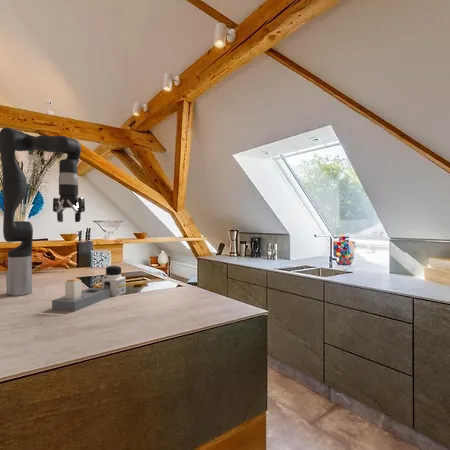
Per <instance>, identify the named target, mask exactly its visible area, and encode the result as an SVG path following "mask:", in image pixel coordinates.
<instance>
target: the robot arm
mask: <svg viewBox="0 0 450 450" xmlns="http://www.w3.org/2000/svg"><path fill="white" fill-rule="evenodd" d="M81 145H82V144H81V143H80V141H78V140H77V139H76V138H72V137H68V136H64V135H45V134H44V135H38V136H37V135H35V136H34V135H30V134H28V133H25V132H23V131H21V130H18V129H14V128H10V127H3V128H2V129H1V130H0V159H1V170H2V171H1V172H2V179H1V180H2V196H3V198H2V199H3V220H2V221H3V223H2V224H3V225H2V235H3V238H4V241H6V242H8V243H13V242H14V243H15V242H17V243H18V242H21V243H20V244H19V245H18V246H16V247H14V248H12V249H10V250H8V251H7V273H6V274H5V275H6V276H5V277H6V278H5V279H6V295H8V296H11V297H12V296H13V297H14V296H15V297H16V296H25V295H29V294H32V293H33V260H32V258H33V257H32V253H33V238H34V237H33V236H34V235H33V234H34V227H33V225H32V223H31V222H30V221H27V220H23V221H22V220H21V221H19V220H18V221H17V220H16V221H15V214H16V212H17V209H18V208H19V206H20V204H21V203H22V202H23V201H24V199H25V198H26V195H27V194H28V193H27V192H28V186H27V185H28V184H27V177H26V175H25V173H24V171H23V169H22V168H21V166H20V164H19V163H18V161H17V158H16V152H15V151H17V152H28V151H39V152H46V153H47V152H48V153H61V154H65V155H66V157H65V158H63V159H60V160H59V162H58V170H59V171H58V173H59V175H58V196H59V197H53V199H52V211H53V212H54V213H56V217H57V218H56V219H57V222H58V223H63V221H64V220H63V219H64V211H65V210H66V209H69V208H70V209H72V210H73V211H74V221H75V222H76V223H80V222H81V220H82V218H81V216H82V215H81V214H82V213H84V212H85V211H86V206H85V205H86V204H85V202H86V201H85V197H78V196H79V178H78V164H79V161H80V160H79V159H80V157H81V152H82V146H81Z"/></svg>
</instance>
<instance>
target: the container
mask: <svg viewBox="0 0 450 450" xmlns="http://www.w3.org/2000/svg"><path fill="white" fill-rule="evenodd" d="M126 280H127V279H126V276H122V266H120V265H109V266H107V267H106V268H105V278H102V279H101V281H100V282H101V288H100V289H110V297H118V296H120V295H121V296H122V295H123V294H125V293H126V292H127V291H126V285H127V284H126Z"/></svg>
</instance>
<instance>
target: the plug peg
mask: <svg viewBox="0 0 450 450" xmlns="http://www.w3.org/2000/svg"><path fill="white" fill-rule="evenodd" d="M64 289H65V290H64V291H65V292H64V293H65V295H64V296H65V299H73V300H75V299H78V298H81V291H82V280H81V278H68V279H66V281H65V282H64Z"/></svg>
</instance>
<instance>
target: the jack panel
mask: <svg viewBox="0 0 450 450" xmlns="http://www.w3.org/2000/svg"><path fill="white" fill-rule="evenodd" d="M109 298H111V296H110V289H101V288H99V287H97V288H96V287H95V288H94V287H89V288H86V289H85V288H84V289H83V290H82V289H81V298H78V299H75V300H73V299H65V295H64V296H60V297H59V298H54V299H52V300H51V310H52V311H64V312H77V311H81V310H83V309H85V308H87V307H90V306H92V305H94V304H97V303H99V302H102V301H104V300H107V299H109Z"/></svg>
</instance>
